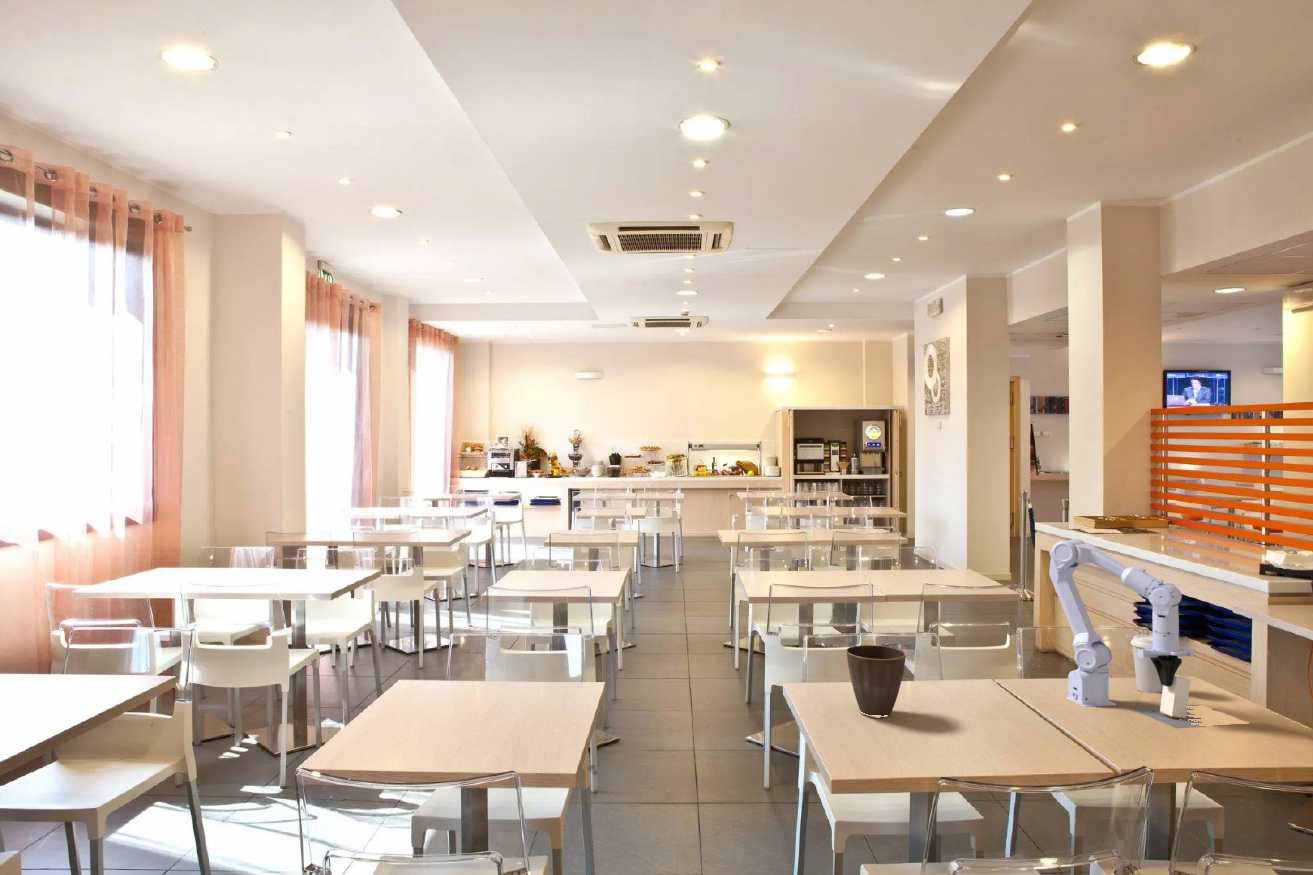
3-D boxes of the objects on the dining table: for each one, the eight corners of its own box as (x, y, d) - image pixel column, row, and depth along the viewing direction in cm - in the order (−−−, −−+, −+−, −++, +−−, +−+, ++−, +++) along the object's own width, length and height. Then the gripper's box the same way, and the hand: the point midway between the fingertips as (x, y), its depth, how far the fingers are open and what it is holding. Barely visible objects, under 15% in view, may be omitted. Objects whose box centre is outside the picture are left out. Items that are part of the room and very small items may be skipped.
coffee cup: (1123, 688, 237) (1122, 636, 237) (1145, 684, 241) (1144, 633, 241) (1155, 697, 228) (1155, 642, 229) (1177, 693, 232) (1177, 639, 233)
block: (1171, 716, 207) (1176, 677, 208) (1159, 711, 211) (1164, 673, 212) (1185, 718, 208) (1190, 679, 209) (1173, 713, 212) (1178, 675, 213)
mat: (1176, 729, 201) (1176, 727, 201) (1128, 709, 217) (1128, 708, 217) (1254, 725, 204) (1254, 723, 204) (1202, 706, 220) (1202, 704, 220)
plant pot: (918, 719, 208) (918, 655, 208) (869, 726, 202) (869, 660, 202) (881, 702, 221) (881, 643, 222) (834, 708, 216) (834, 647, 216)
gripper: (1152, 635, 205) (1152, 690, 205) (1203, 634, 207) (1203, 688, 207) (1131, 630, 212) (1131, 683, 212) (1181, 628, 214) (1181, 680, 214)
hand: (1166, 685), depth 210 cm, fingers closed
